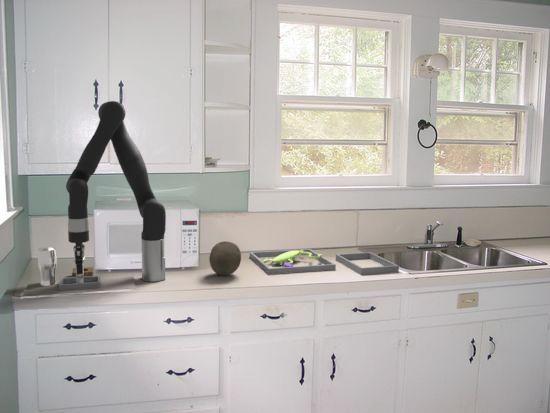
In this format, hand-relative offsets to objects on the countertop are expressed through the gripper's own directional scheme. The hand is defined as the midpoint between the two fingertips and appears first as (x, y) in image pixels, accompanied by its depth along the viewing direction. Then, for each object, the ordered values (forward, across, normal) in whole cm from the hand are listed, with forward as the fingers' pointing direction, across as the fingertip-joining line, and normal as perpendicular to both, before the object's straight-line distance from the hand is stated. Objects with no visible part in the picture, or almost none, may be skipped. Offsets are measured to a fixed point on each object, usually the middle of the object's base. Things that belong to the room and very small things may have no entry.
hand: (80, 272), depth 205 cm
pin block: (+6, +12, 0) cm, 13 cm away
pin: (+5, 0, 0) cm, 5 cm away
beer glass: (+6, +5, +12) cm, 15 cm away
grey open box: (+6, +16, -94) cm, 95 cm away
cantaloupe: (+6, +2, -58) cm, 59 cm away
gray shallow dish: (+6, +4, -126) cm, 127 cm away
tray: (+6, 0, 0) cm, 6 cm away
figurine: (+7, +17, -95) cm, 97 cm away
